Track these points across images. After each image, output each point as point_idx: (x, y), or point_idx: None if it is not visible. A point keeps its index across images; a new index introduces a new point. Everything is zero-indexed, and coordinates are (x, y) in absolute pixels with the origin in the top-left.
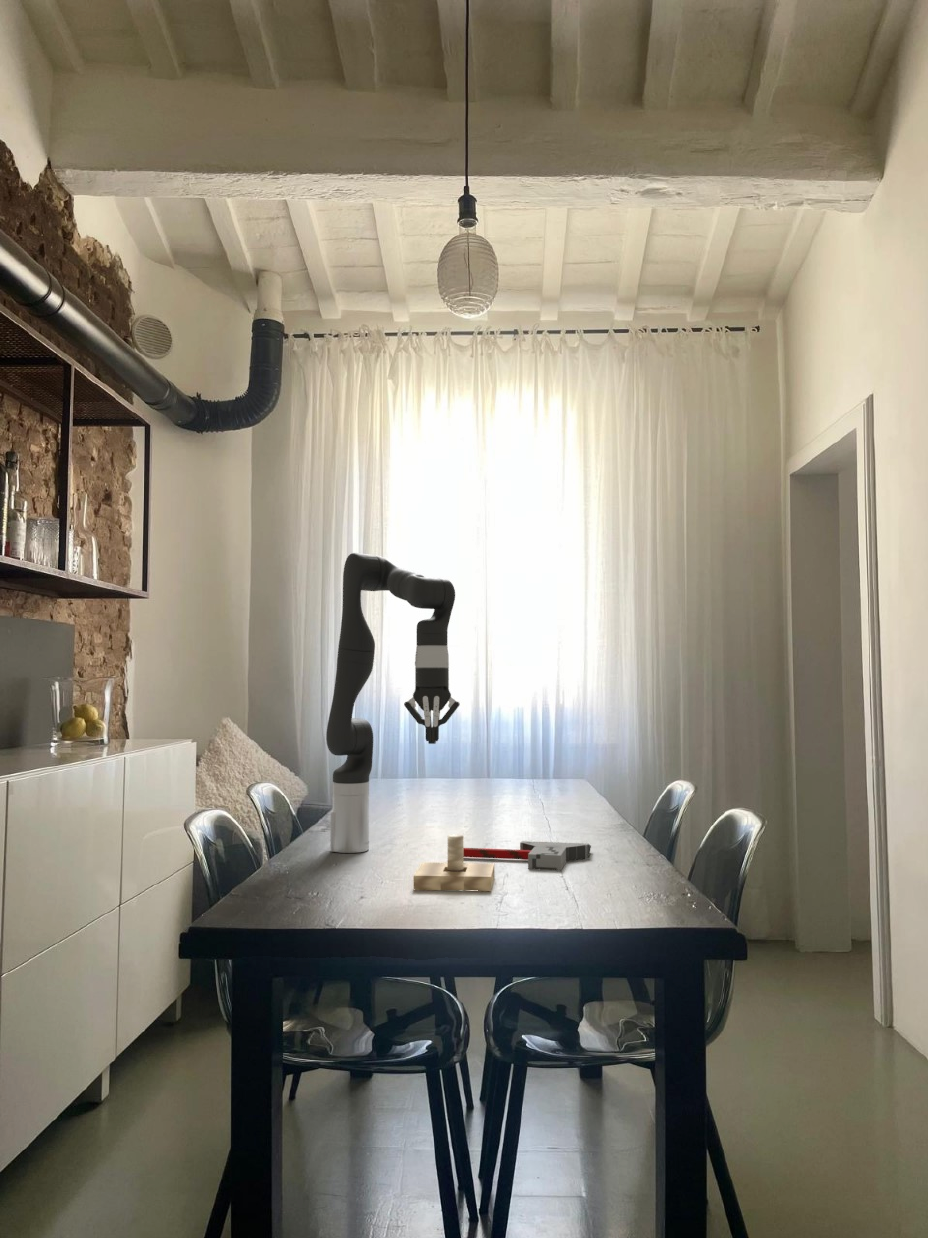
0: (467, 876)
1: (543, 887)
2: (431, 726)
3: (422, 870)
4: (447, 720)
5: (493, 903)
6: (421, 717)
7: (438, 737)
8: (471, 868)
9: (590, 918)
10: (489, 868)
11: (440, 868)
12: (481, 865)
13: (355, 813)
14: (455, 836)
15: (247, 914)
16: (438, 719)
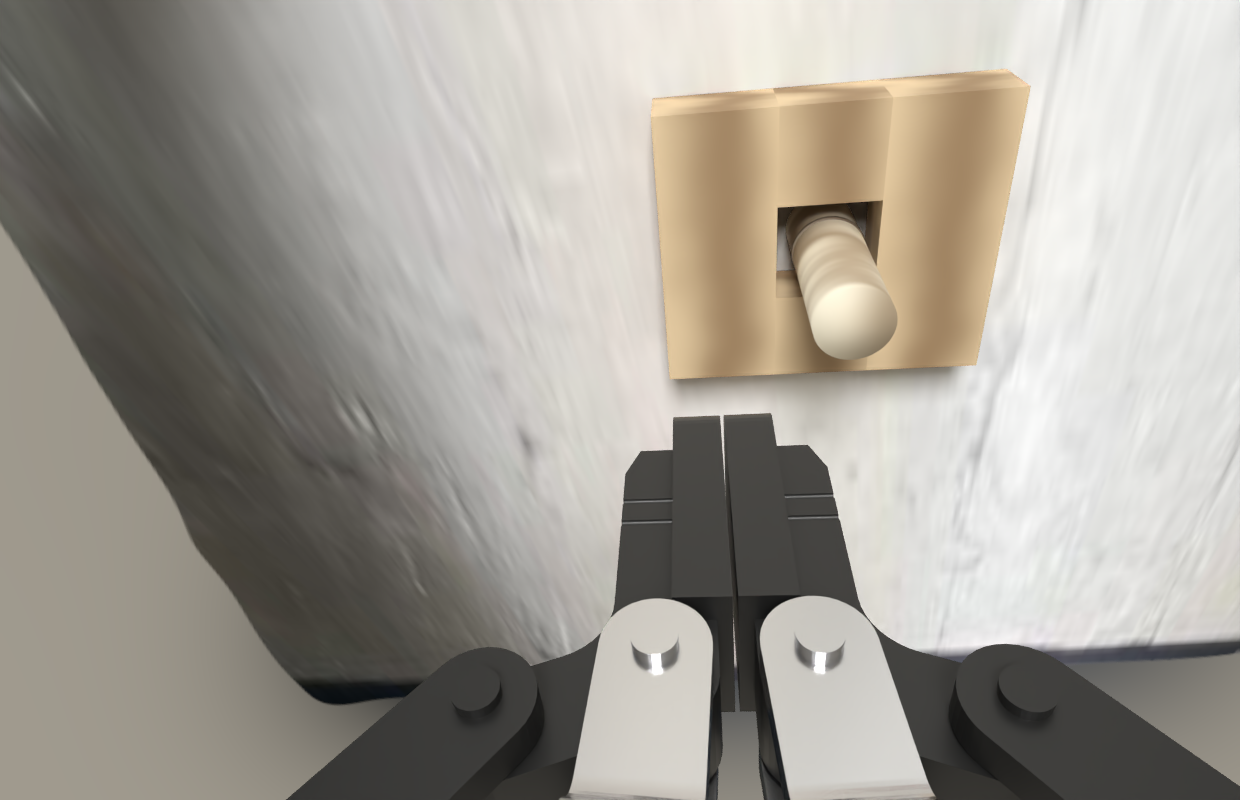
0: (880, 369)
1: (1195, 238)
2: (718, 638)
3: (687, 290)
4: (1105, 730)
5: (951, 469)
6: (482, 795)
7: (826, 497)
8: (902, 224)
9: (1209, 575)
10: (988, 212)
11: (759, 242)
12: (955, 149)
13: None
14: (854, 333)
15: (321, 606)
16: (888, 756)
